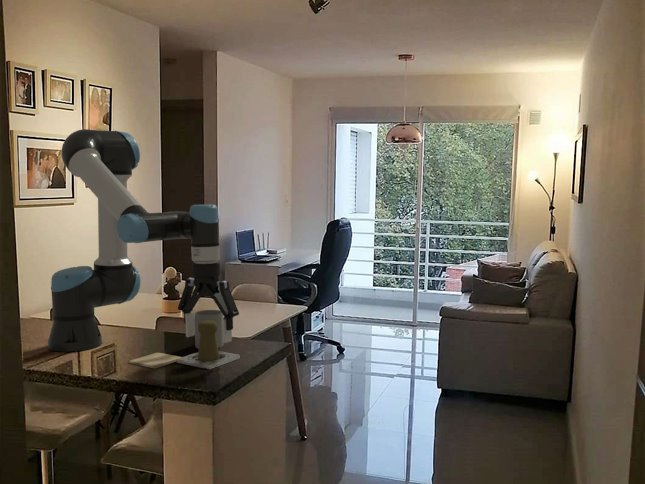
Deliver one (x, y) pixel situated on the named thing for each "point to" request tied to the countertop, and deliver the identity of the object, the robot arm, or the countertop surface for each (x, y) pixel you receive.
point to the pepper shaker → (208, 341)
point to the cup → (213, 316)
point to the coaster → (155, 360)
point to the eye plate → (210, 364)
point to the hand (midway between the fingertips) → (208, 339)
